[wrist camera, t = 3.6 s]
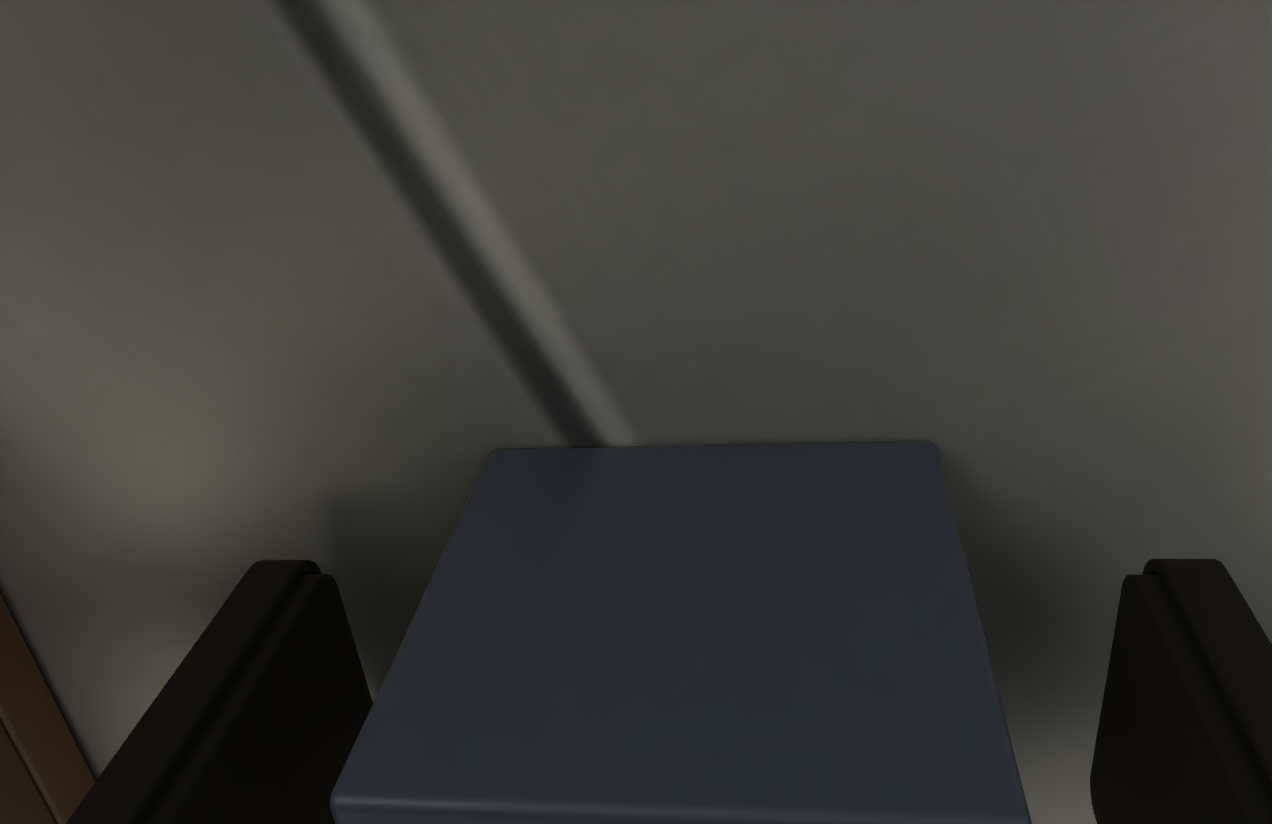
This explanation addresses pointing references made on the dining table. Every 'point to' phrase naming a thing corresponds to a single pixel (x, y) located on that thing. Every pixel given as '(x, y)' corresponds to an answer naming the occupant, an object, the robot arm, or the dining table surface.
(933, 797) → the block
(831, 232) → the dining table surface
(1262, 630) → the robot arm
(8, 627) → the cabinet
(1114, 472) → the dining table surface
